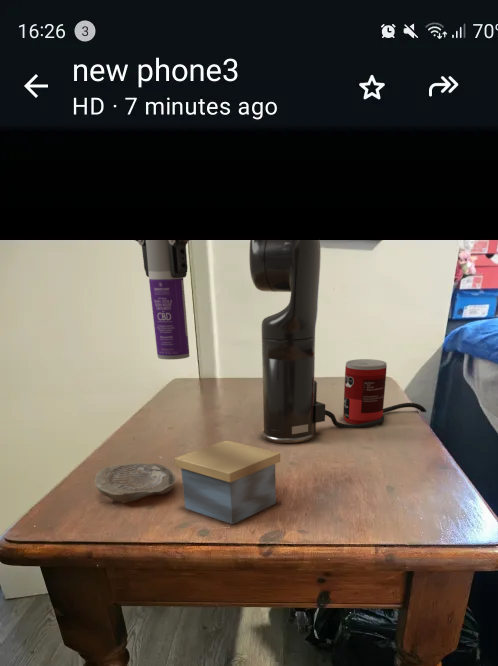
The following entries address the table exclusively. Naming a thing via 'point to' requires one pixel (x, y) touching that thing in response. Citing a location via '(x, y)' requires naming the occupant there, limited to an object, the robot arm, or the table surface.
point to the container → (167, 303)
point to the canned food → (364, 390)
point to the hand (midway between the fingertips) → (166, 276)
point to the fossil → (134, 481)
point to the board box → (228, 480)
